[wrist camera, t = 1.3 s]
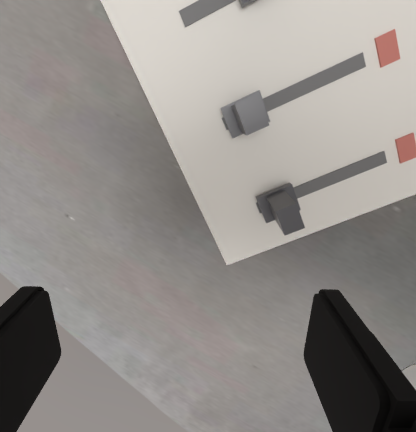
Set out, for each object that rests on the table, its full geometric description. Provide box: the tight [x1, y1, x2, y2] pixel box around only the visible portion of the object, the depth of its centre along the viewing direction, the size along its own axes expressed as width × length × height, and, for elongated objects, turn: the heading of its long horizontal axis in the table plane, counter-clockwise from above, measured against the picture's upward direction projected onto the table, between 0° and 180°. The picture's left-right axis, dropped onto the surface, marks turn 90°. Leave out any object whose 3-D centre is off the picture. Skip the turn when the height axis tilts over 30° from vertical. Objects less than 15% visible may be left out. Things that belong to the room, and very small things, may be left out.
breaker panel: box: [101, 0, 416, 265], centre depth 26 cm, size 24×28×3 cm
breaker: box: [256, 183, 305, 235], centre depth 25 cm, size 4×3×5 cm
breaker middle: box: [220, 90, 270, 138], centre depth 22 cm, size 4×3×5 cm
